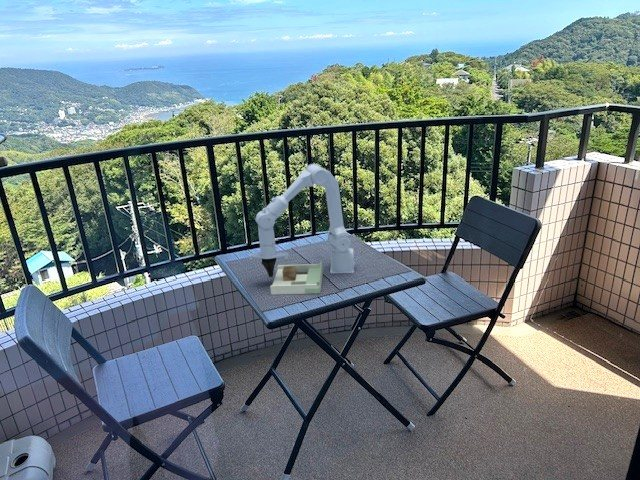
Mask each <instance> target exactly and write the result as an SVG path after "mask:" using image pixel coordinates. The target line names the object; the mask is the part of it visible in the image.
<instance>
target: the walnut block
mask: <svg viewBox="0 0 640 480" xmlns="http://www.w3.org/2000/svg"><path fill="white" fill-rule="evenodd" d="M282 273H283V281H295V279H296V266H284V268H283V271H282Z"/></svg>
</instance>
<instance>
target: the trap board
mask: <svg viewBox="0 0 640 480" xmlns="http://www.w3.org/2000/svg"><path fill="white" fill-rule="evenodd" d="M284 266H296V279H295V281H283V273H282V271H283V268H284ZM323 267H324V266H323V261H319V263H310V264H309V263H307V264H305V263H304V264H280V265H279V264H278V265H277V271H276V273H275V276H274V279H273V281H272V284H271V285H270V286H269V287H270V288H269V289H270V295H275V296H276V295H304V294H306V295H310V294H313V295H314V294H321V292H322V291H321V290H322V281H323V276H324V275H323V274H324V268H323Z"/></svg>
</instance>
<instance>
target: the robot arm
mask: <svg viewBox="0 0 640 480" xmlns="http://www.w3.org/2000/svg"><path fill="white" fill-rule="evenodd" d="M314 184H315V185H316V186H319V187H323V188H324V189H325V190H324V191H325V198H326V205H327V213H328V218H329V219H328V221H329V228H328V235H327V241H328V243H329V245H330V262H331V264H330V271H329V272H330V273H329V274H332V275H333V274H335V275H336V274H355V266H356V261H355V258H354V257H355V254H354V252H355V251H354V248H352V247H351V244H352V243H351V239H350V238H349V235H348V232H347V229H346V228H345V225H344V217H343V210H342V201H341V193H340V187H339V186H340V185H339V181H338V179H336V177H335V176H333V174H332V173H331V171H330V170H328V169H326V168H323V167H322V166H320V165H318V164H316V163H310V164H308V165H307V166H306V167H305V168H304V169H303V170H302V171H301V172H300V174H299V175H298V176H297V177H296V179H295V180H294V181H293V182H292V183H291V184H290V185H289V187H288V188H287V189H286V191H284V192H283V194H282V195H277V196H275V197H274V196H273V197H272V198H271V199H270V200H271V202H269V203H268V204H267V205H266V206H265V207H263V208H262V209H261V210H260V211H258V213H257V214H256V215H255V218H254V220H255V222H256V224H257V230H258V240H259V249H260V251H259V252H254V253H249V255H248V257H249V260H250V261H253V260H261V265H262V266H263V267H264V269H265V271H266V272H267V274H268V277H269V278H273V276H274V273H275V271H274V270H275V266H276V262H277V259H279V260H280V259H285V260H288V259H289V257H290V256H289V251H287V252H286V251H277V247H276V239H275V238H276V237H275V230H274V226H275V223H276V220H277V219H278V218H279V217H281V215H282V214H283V213H284V212H285V211H286V210H287V209H288V208H289V202H290V201H291V200H293V198H295V197H296V196H297V195H298V194H299V193H300V192H301V191H302V190H303V189H304V188H307V187H308V188H310V187H311V188H312V187H314V186H315V185H314Z"/></svg>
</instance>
